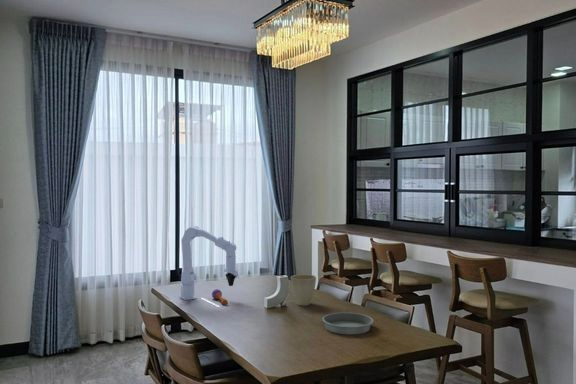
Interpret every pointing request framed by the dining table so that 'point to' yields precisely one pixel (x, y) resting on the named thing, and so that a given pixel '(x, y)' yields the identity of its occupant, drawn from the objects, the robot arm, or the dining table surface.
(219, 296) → the kendama
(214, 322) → the dining table surface
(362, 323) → the cake pan
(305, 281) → the plant pot
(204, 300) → the strip
